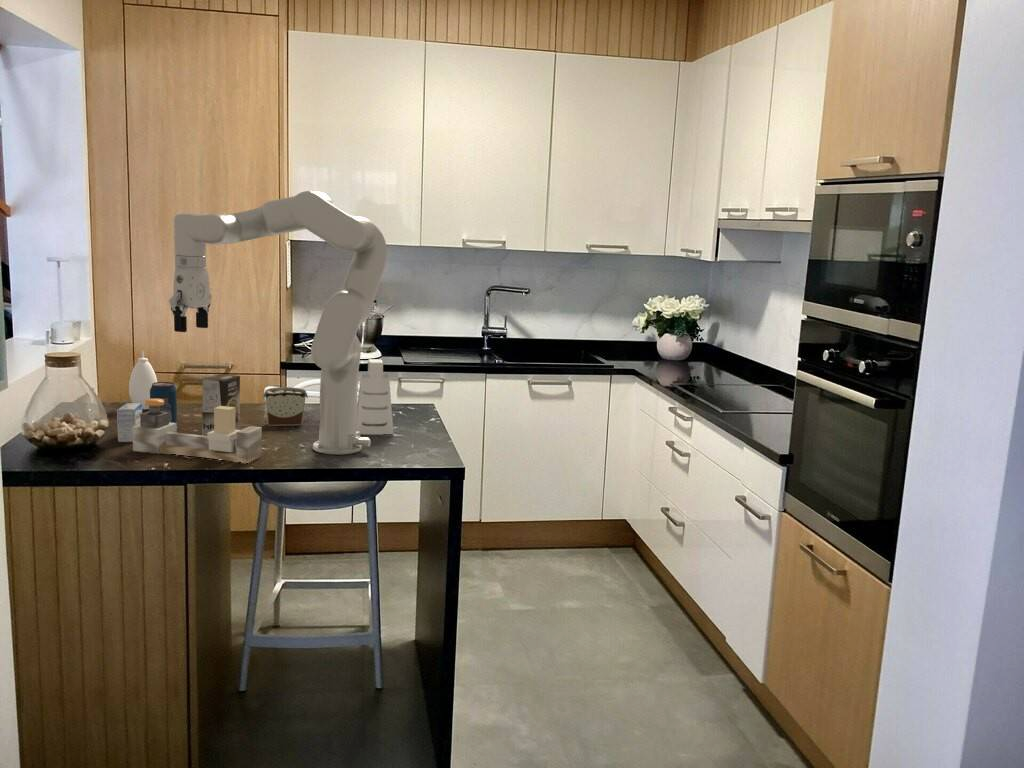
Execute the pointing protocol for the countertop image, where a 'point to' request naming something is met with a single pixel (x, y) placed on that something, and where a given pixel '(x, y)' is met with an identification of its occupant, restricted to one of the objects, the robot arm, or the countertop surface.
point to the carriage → (223, 430)
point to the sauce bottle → (141, 381)
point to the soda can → (166, 398)
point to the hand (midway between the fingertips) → (191, 329)
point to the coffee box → (219, 399)
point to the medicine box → (128, 420)
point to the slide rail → (191, 440)
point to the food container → (285, 405)
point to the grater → (374, 401)
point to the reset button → (154, 405)
